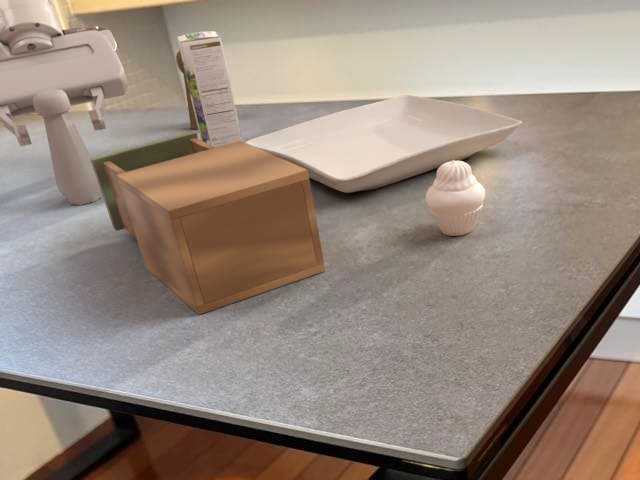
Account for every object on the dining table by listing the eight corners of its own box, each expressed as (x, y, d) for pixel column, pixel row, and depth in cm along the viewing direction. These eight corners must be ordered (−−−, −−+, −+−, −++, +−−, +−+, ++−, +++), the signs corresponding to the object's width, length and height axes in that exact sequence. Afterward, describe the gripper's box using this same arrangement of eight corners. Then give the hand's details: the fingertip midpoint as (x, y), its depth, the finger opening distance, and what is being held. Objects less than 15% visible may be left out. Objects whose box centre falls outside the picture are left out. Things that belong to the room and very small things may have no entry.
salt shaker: (84, 208, 105) (44, 97, 96) (54, 205, 107) (13, 97, 99) (116, 193, 108) (80, 85, 100) (87, 191, 111) (49, 85, 102)
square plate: (408, 119, 121) (406, 90, 118) (526, 151, 103) (526, 118, 100) (246, 166, 111) (239, 136, 109) (344, 211, 93) (338, 176, 90)
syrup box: (201, 146, 122) (173, 35, 113) (240, 139, 123) (215, 28, 114) (206, 156, 118) (177, 41, 108) (246, 148, 119) (220, 33, 109)
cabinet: (146, 268, 86) (115, 174, 80) (261, 232, 91) (240, 140, 84) (199, 315, 75) (168, 210, 69) (325, 271, 80) (307, 169, 74)
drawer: (101, 218, 98) (78, 150, 93) (196, 191, 102) (178, 124, 97) (153, 262, 85) (128, 185, 80) (259, 228, 89) (242, 153, 84)
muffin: (499, 225, 84) (496, 154, 80) (460, 245, 81) (455, 173, 77) (455, 216, 88) (450, 147, 83) (416, 234, 85) (409, 164, 80)
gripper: (112, 40, 109) (146, 132, 109) (-45, 69, 105) (-11, 166, 104) (104, 4, 103) (140, 102, 102) (-63, 33, 99) (-27, 136, 98)
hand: (62, 134), depth 103 cm, fingers open, 8 cm apart
